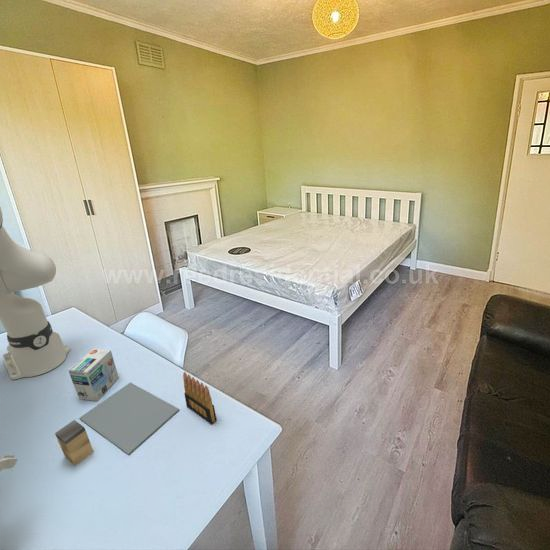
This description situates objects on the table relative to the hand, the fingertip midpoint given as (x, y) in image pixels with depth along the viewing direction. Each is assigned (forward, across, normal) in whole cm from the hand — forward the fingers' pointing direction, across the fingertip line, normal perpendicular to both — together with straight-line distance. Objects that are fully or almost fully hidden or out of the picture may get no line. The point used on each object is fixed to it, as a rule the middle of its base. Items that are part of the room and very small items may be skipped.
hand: (4, 450), depth 66 cm
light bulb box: (+29, +18, -10) cm, 35 cm away
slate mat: (+27, 0, -8) cm, 29 cm away
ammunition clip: (+35, -17, -16) cm, 42 cm away
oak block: (+18, 0, +2) cm, 18 cm away
